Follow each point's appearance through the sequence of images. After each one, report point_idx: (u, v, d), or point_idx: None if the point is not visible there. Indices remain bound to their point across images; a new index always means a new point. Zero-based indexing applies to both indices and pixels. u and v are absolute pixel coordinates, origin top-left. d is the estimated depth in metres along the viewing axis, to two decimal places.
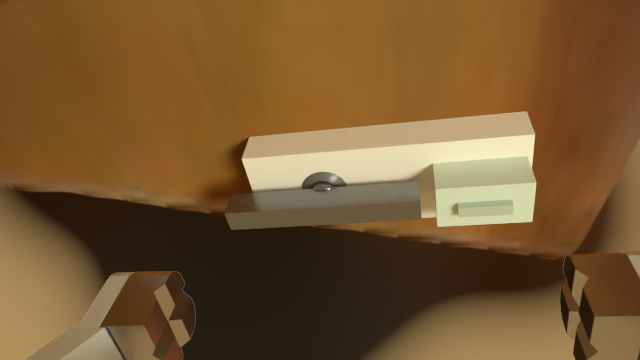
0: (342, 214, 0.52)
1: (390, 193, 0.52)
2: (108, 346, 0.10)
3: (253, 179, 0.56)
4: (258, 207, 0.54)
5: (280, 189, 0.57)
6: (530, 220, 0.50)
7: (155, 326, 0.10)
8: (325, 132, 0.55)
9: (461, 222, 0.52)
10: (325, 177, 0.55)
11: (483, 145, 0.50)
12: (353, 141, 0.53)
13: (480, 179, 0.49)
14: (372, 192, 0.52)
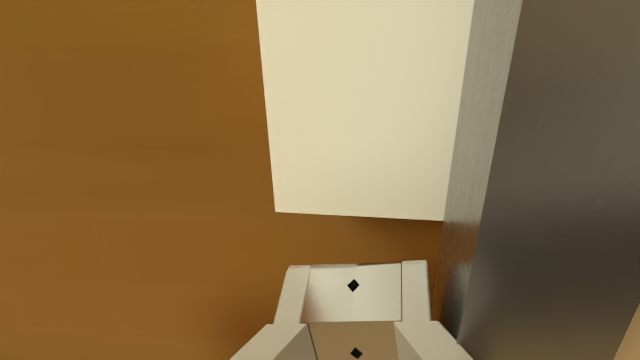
0: None
1: None
2: (307, 344, 0.09)
3: (395, 199, 0.12)
4: (459, 280, 0.08)
5: None
6: None
7: None
8: None
9: None
10: None
11: None
12: None
13: None
14: None
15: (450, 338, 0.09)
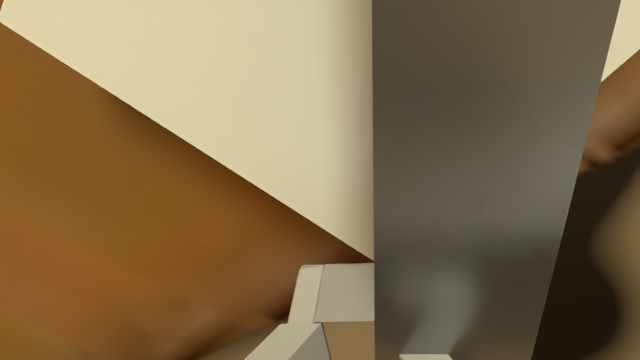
0: None
1: None
2: (321, 344, 0.09)
3: (133, 83, 0.11)
4: None
5: (266, 34, 0.10)
6: None
7: None
8: None
9: None
10: None
11: None
12: None
13: None
14: None
15: None
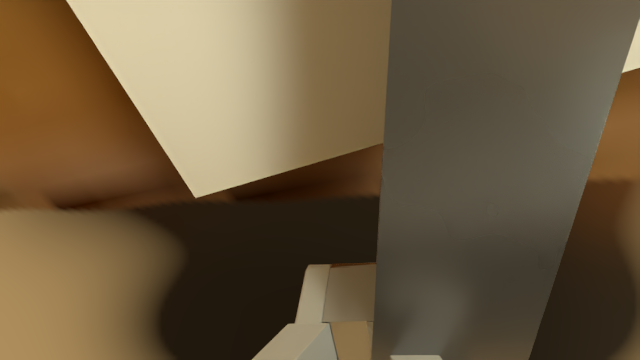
0: None
1: None
2: (329, 344, 0.09)
3: None
4: (375, 283, 0.08)
5: None
6: None
7: None
8: None
9: None
10: None
11: None
12: None
13: None
14: None
15: None
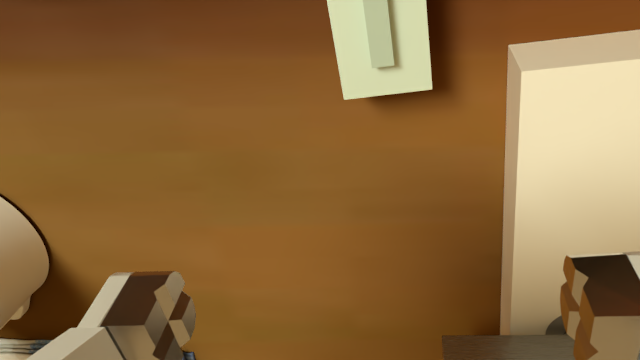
0: None
1: None
2: (108, 346, 0.10)
3: None
4: None
5: None
6: None
7: (155, 326, 0.10)
8: (502, 293, 0.42)
9: (421, 50, 0.28)
10: (557, 331, 0.38)
11: (533, 145, 0.30)
12: (508, 284, 0.38)
13: None
14: None
15: None
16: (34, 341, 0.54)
